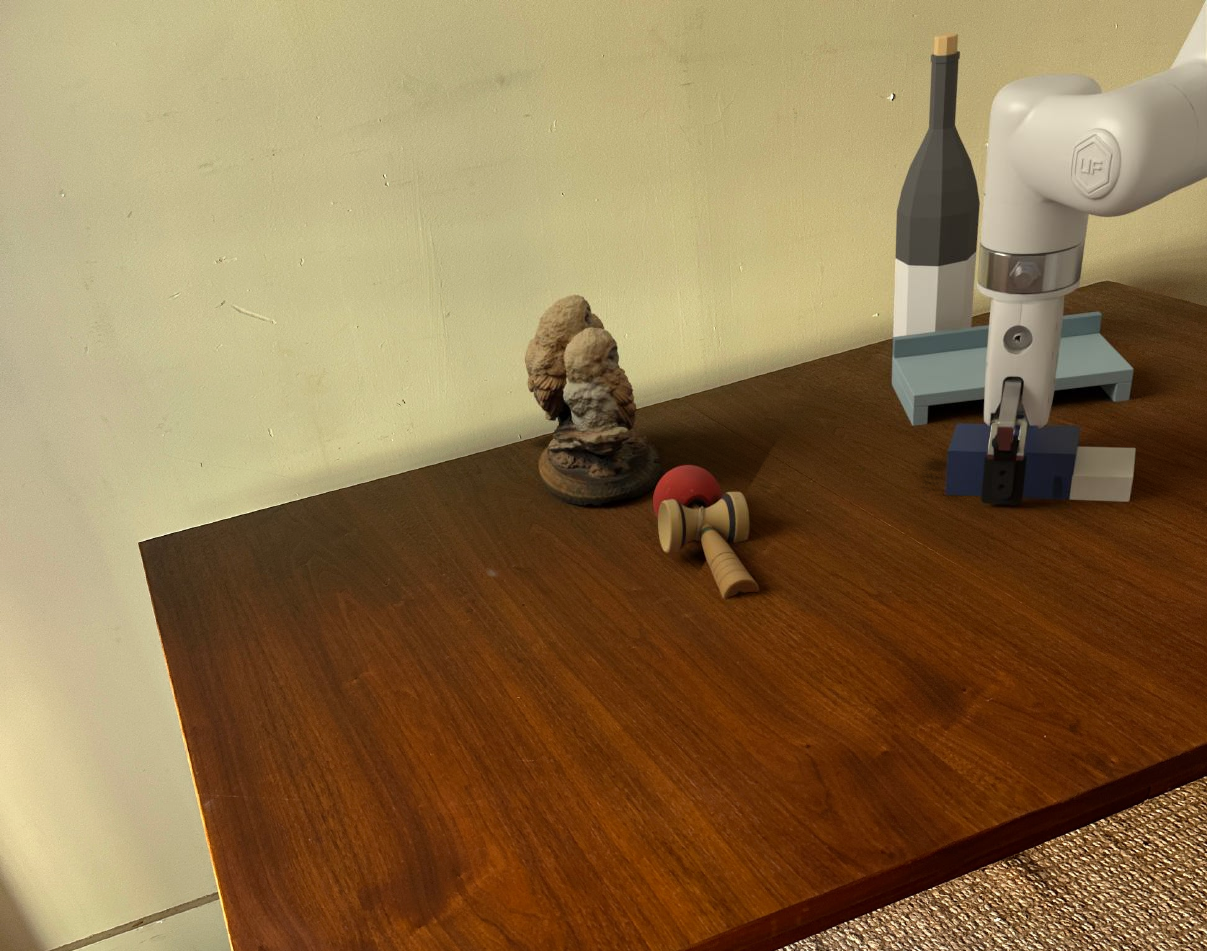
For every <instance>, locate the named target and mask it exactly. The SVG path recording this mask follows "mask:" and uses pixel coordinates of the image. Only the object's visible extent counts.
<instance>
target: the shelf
mask: <svg viewBox="0 0 1207 951" xmlns="http://www.w3.org/2000/svg"><path fill="white" fill-rule="evenodd" d="M1102 319H1103V314H1102V313H1101V312H1100V311H1098V310H1097V311H1092V312H1083V313H1075V314H1067V315H1063V321H1062V330H1061V339H1060V347H1059V355H1058V363H1057V371H1056V380H1055V389H1054V392H1056V391H1062V390H1063V391H1064V390H1071V389H1078V388H1079V389H1080V388H1088V387H1095V386H1099V387H1100V388H1101V389H1102V390H1103V391H1104V393H1105V394H1107V396H1108V397H1109V398H1110V400H1112V401H1113V403H1114V402H1115V403H1117V402H1126V401H1130V397H1131V389H1132V384H1133V383H1132V382H1133V377H1134V370H1135V369H1134V367H1132V365H1131V364H1130V363H1129V362H1128V361H1127V360H1126V359H1125V358H1124V357H1123V356H1122V354H1120V353H1119V352H1118V351H1117V350H1116V349H1115V347H1113V346H1112V345H1111V344H1110V342H1108V341H1107V339H1106V338H1105V337H1104V336H1103V335H1102V334H1101V328H1102V327H1101V325H1102ZM988 332H989V324H987V325H986V324H985V325H978V326H971V327H969V328H961V329H953V330H945V331H937V332H929V333H921V334H913V335H905V336H897V337H893V336H892V357H891V358H892V359H891V361H892V362H891V366H892V367H891V386H892V388H893V390H894V392H895V394H896V396H897V398H898V400H899V402H900V404H901V405H902V408H903V409H904V412H905V414H906V416H907V418H908V420H909V421H910V423H911V425H912V426H921V425H927V424H928V417H929V407H931V406H937V405H945V404H953V403H962V402H971V401H978V400H984V397H985V374H986V358H987V345H988Z"/></svg>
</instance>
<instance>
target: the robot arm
mask: <svg viewBox="0 0 1207 951" xmlns="http://www.w3.org/2000/svg"><path fill="white" fill-rule="evenodd" d="M1199 11H1200V12H1199V13H1198V16H1197V18H1196V20H1195V21H1194V23H1193V25H1192V27H1191V29H1190V31H1189V33H1188V35H1187V37H1186V38H1185V41H1184V43H1183V44H1182V46H1181V48H1180V50H1179V52H1178V54H1177V56H1176V57H1175V59H1174V61H1173V63H1172V64H1171V65H1170V67H1169V69H1166V70H1163V71H1161V72H1159V73H1156V74H1153V75H1151V76H1148V77H1145V78H1143V79H1140V80H1137V81H1135V82H1133V83H1131V84H1128V85H1125V86H1121V87H1118V88H1115V89H1112V90H1108V91H1105V92H1103V90H1102V87H1101V85H1100V84H1099V83H1098V82H1097V81H1096V80H1095V79H1094V78H1092V77H1090V76H1086V75H1083V74H1077V73H1048V74H1039V75H1032V76H1028V77H1023V78H1019V79H1016V80H1014V81H1012V82H1009V83H1007V84H1006V85H1003V87H1001V88H1000V89H999V90H998V92H997V94H996V95H995V97H994V99H993V101H992V104H991V107H990V108H991V109H990V115H989V122H988V123H989V124H988V125H989V126H988V136H987V150H986V151H987V152H986V164H985V176H984V187H983V200H982V201H983V203H982V215H981V225H980V226H981V228H980V239H979V240H980V242H979V251H978V252H979V253H978V265H977V280H976V290H977V291H978V292H979V293H980V294H981V295H983V296H985V297H988V298H990V299H991V300H990V311H989V319H988V320H989V321H988V325H989V332H988V345H987V358H986V374H985V397H984V399H983V400H984V402H983V422H984V424H987V425H988V426H989V427H991V432H990V439H989V446H988V453H987V455H985V461H984V473H983V484H982V495H981V496H980V499H981V502H982V503H983V504H990V505H991V504H994V505H1014V506H1017V505H1021V504H1022V502H1023V499H1024V498H1023V489H1024V480H1025V471H1026V462H1027V456H1024V450H1025V443H1026V436H1027V429H1028V426H1029V425H1030V426H1038V428H1042V427H1044V426H1045V425H1048V422H1049V419H1050V414H1051V410H1052V405H1053V400H1054V395H1055V391H1054V389H1055V380H1056V371H1057V363H1058V355H1059V347H1060V339H1061V330H1062V321H1063V316H1064V308H1065V296H1066V295H1069V294H1071V293H1073V292H1074V291H1076V290H1077V289H1078V288H1079V287H1080V284H1081V279H1082V278H1081V277H1082V276H1081V275H1082V267H1083V259H1084V252H1085V245H1086V238H1087V231H1088V223H1089V215H1091V216H1095V217H1099V218H1100V217H1101V218H1115V217H1121V216H1125V215H1129V214H1131V213H1134V212H1136V211H1139V210H1141V209H1143V208H1146V207H1147V206H1149V205H1152V204H1153V203H1156V202H1158V201H1161V200H1162V199H1164V198H1165V197H1167V196H1169V195H1171V194H1173V193H1175V192H1177V191H1180V190H1182V189H1184V188H1186V187H1189V186H1192V185H1194V184H1196V183H1199V182H1200V181H1202V180H1204V179H1206V178H1207V0H1204V3H1203V5H1202V7H1201V9H1200V10H1199ZM1015 430H1020V433H1019V439H1018V437H1017V435H1014V433H1015Z"/></svg>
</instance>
